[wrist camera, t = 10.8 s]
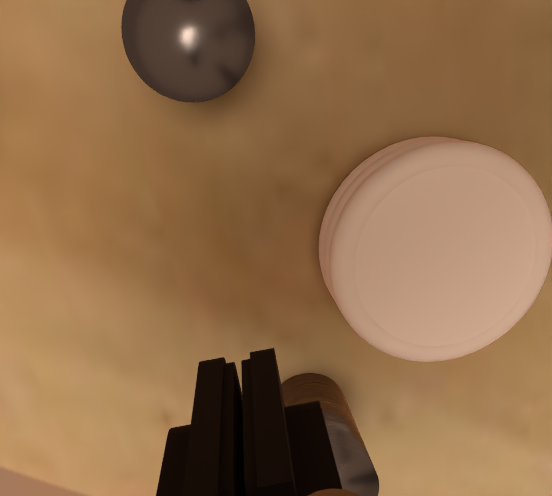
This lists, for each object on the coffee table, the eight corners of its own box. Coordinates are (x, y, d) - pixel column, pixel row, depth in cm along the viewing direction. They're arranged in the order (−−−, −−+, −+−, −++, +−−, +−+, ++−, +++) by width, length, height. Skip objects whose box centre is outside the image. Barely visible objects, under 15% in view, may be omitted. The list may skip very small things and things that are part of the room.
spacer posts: (283, -18, 21) (308, -61, 15) (349, 431, 28) (383, 519, 22) (-145, 52, 20) (-290, 34, 14) (29, 500, 27) (-22, 611, 21)
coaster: (372, 365, 27) (394, 404, 23) (278, 205, 24) (289, 223, 20) (542, 270, 26) (589, 295, 23) (468, 94, 23) (510, 94, 20)
